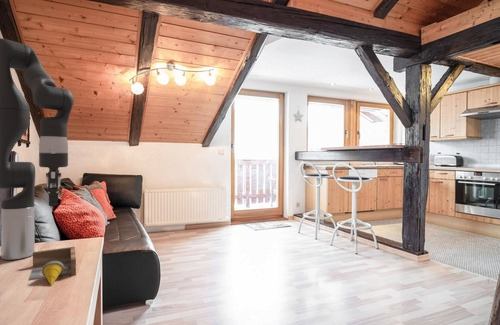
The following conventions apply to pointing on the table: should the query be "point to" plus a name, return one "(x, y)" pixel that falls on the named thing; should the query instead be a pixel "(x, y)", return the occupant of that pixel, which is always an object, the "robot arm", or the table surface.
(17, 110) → the robot arm
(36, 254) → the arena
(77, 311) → the table surface
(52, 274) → the drill bit
